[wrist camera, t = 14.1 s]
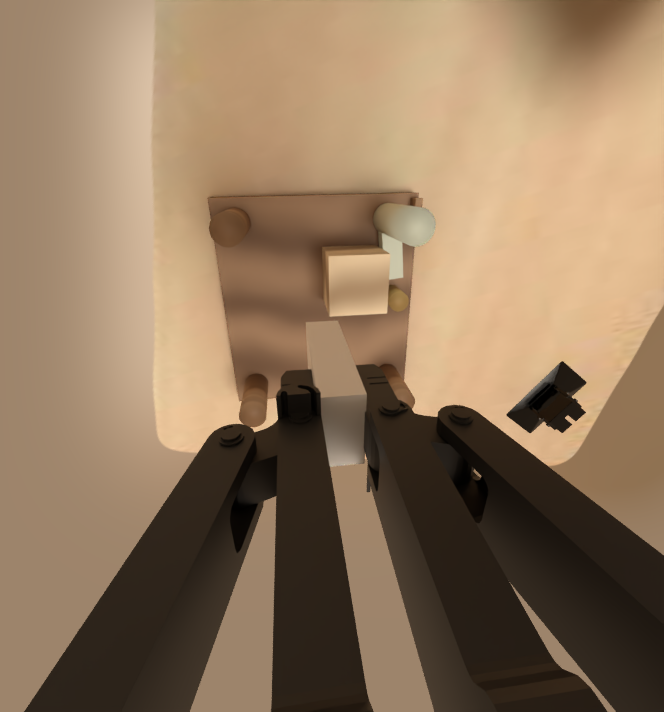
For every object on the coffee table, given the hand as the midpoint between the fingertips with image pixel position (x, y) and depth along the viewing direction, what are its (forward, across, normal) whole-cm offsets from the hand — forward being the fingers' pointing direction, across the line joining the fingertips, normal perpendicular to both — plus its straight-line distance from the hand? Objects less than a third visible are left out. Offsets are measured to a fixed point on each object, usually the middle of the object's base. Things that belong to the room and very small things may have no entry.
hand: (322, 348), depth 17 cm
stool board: (+20, +1, -4) cm, 20 cm away
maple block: (+18, +4, -1) cm, 18 cm away
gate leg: (+18, +8, +2) cm, 20 cm away
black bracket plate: (+20, +30, -18) cm, 41 cm away
